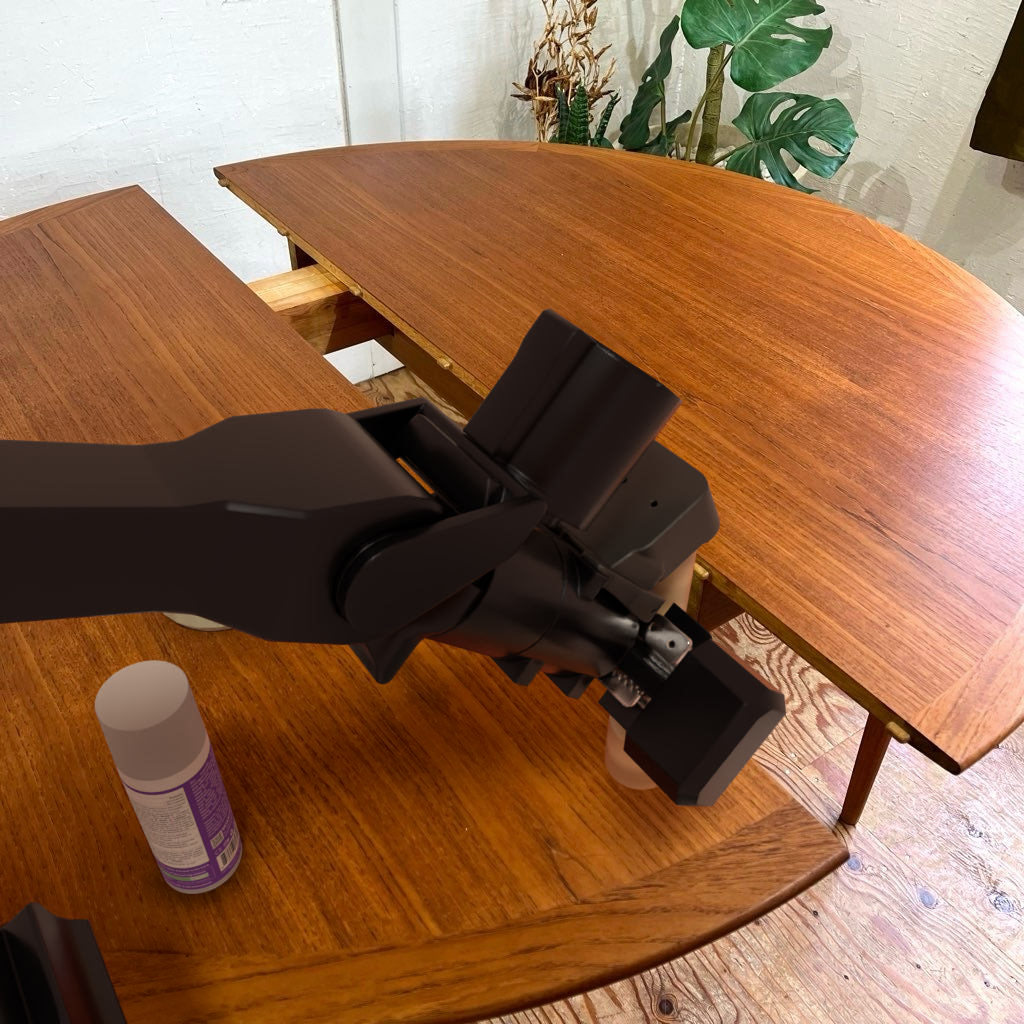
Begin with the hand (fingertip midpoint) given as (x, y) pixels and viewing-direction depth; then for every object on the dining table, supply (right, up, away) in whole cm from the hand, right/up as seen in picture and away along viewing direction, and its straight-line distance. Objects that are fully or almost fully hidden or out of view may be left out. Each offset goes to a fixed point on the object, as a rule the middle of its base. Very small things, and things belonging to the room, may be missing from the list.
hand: (672, 652), depth 52 cm
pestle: (-1, -7, +5) cm, 9 cm away
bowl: (-31, +2, +23) cm, 38 cm away
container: (-27, -13, +5) cm, 30 cm away
